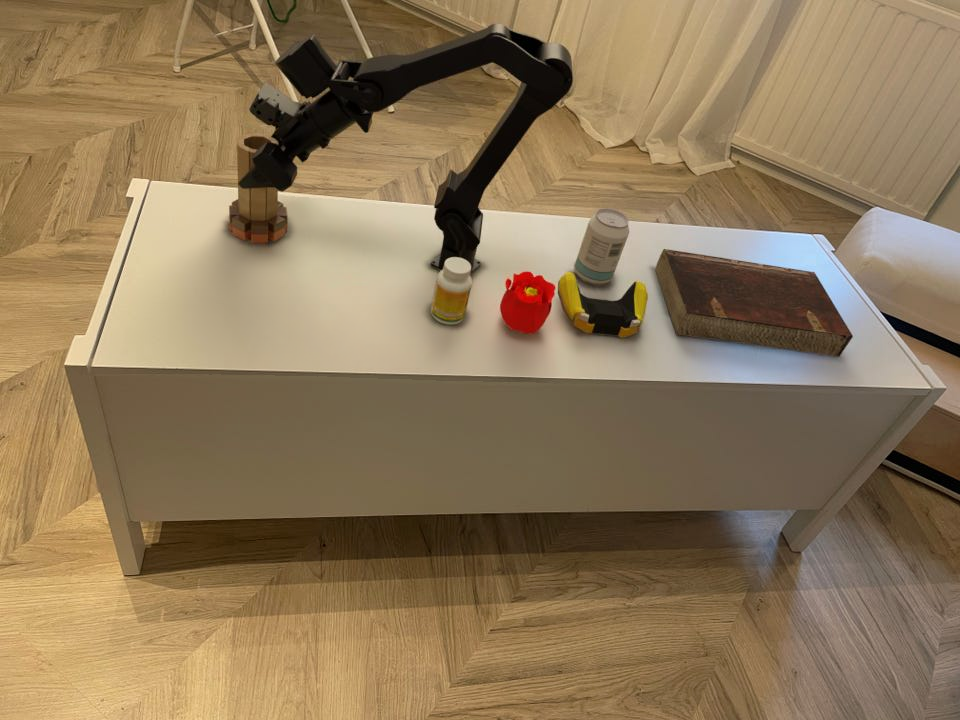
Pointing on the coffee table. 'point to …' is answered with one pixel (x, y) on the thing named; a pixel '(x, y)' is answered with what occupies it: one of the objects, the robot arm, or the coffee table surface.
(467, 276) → the supplement bottle
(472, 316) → the coffee table surface
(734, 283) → the book
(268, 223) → the ring stack
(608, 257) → the beverage can
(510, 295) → the flower
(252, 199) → the tall ring
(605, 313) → the gaming controller
